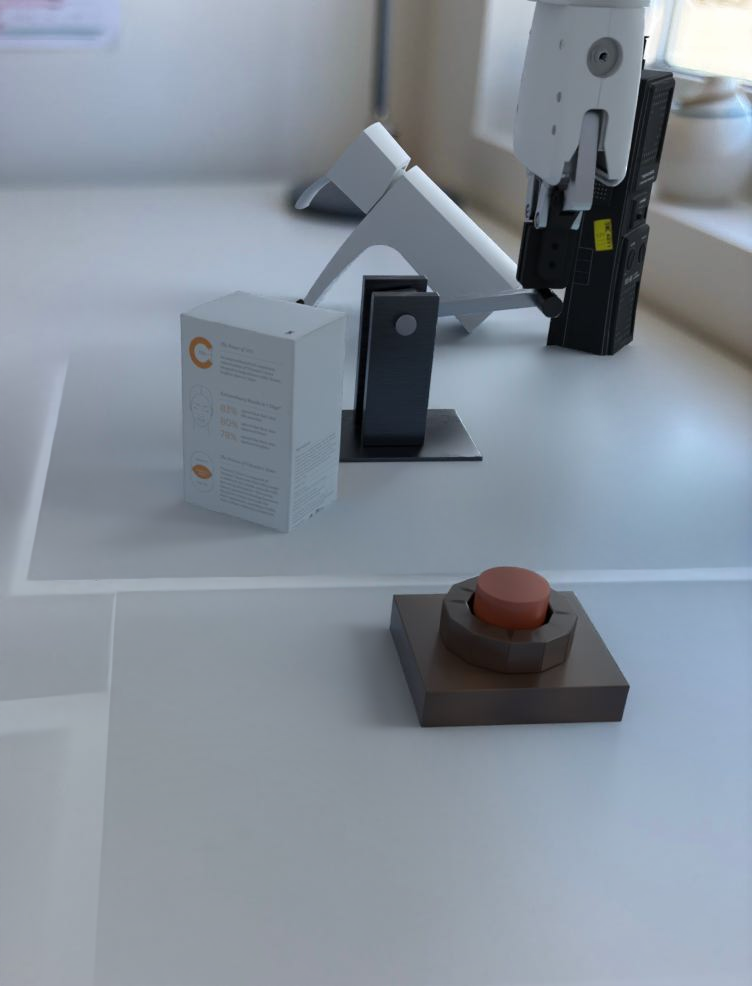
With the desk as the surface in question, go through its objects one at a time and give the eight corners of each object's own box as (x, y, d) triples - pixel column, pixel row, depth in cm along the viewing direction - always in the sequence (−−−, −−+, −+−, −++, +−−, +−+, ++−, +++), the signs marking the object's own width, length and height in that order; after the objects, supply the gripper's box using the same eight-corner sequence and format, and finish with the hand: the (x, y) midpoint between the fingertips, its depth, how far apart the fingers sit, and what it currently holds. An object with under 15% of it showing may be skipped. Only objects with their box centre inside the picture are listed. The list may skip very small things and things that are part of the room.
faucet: (517, 289, 101) (360, 121, 99) (394, 405, 111) (248, 255, 108) (529, 271, 106) (380, 111, 104) (410, 384, 116) (271, 240, 113)
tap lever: (541, 301, 80) (543, 267, 79) (562, 323, 76) (564, 288, 75) (372, 319, 80) (371, 285, 79) (384, 342, 76) (383, 307, 75)
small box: (338, 509, 74) (351, 311, 67) (286, 547, 70) (294, 339, 63) (236, 478, 78) (237, 287, 71) (180, 512, 73) (176, 312, 66)
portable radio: (604, 370, 98) (668, 46, 84) (539, 356, 101) (590, 40, 87) (633, 346, 104) (697, 39, 90) (571, 333, 106) (623, 33, 93)
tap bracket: (453, 423, 87) (472, 267, 81) (481, 472, 80) (504, 305, 73) (298, 424, 86) (305, 266, 80) (311, 474, 79) (320, 305, 72)
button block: (566, 624, 63) (579, 561, 61) (621, 722, 56) (638, 654, 53) (389, 628, 62) (395, 564, 60) (421, 728, 55) (429, 660, 52)
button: (533, 594, 59) (539, 565, 58) (554, 632, 56) (560, 601, 55) (465, 596, 58) (469, 566, 57) (482, 634, 55) (486, 603, 54)
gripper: (702, -15, 61) (632, 320, 71) (610, -30, 74) (561, 257, 84) (567, -20, 61) (516, 319, 71) (497, -34, 73) (462, 256, 83)
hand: (540, 284), depth 77 cm, fingers closed
